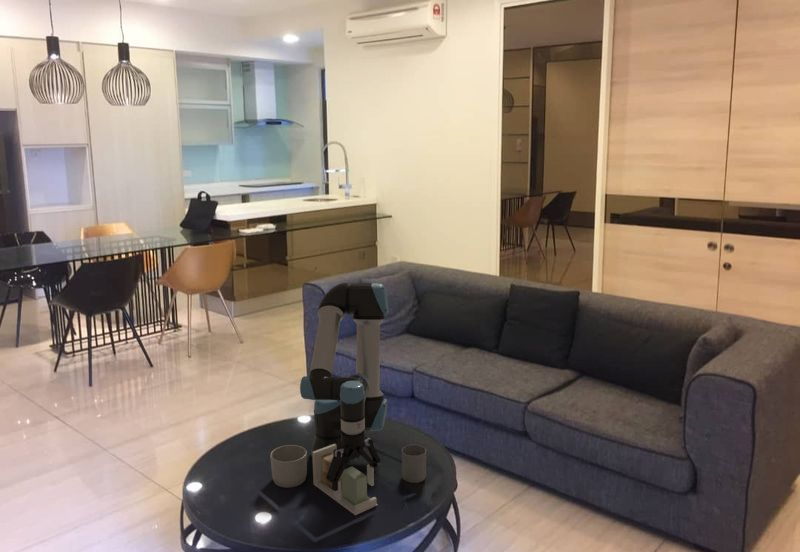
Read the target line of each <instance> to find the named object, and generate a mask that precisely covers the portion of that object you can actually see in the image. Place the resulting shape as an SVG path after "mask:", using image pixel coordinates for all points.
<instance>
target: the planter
mask: <svg viewBox="0 0 800 552" xmlns="http://www.w3.org/2000/svg"><path fill="white" fill-rule="evenodd" d="M269 456H270V459H269V460H270V468H271V469H270V470H271V476H272V480H273V483H274V484H275V485H276V486H278V487H279V488H288V489H289V488H296V487H298V486H300V485H302V484H303V483H304V482H305V480H306V478H307V473H308V451H307V449H306V448H305V447H304V446H301V445H297V444H286V445H281V446H279V447H278V446H277V447H276V448H274V449H273V450H272V451H271V452H270V454H269Z"/></svg>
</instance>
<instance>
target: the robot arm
mask: <svg viewBox="0 0 800 552" xmlns="http://www.w3.org/2000/svg"><path fill="white" fill-rule="evenodd" d="M388 299H389V298H388V293H387V289H386V286H385V285H384V284H383V283H377V282H342V283H339V284H336V285H334V286H333V287H332V288H330V289H329V290H328V291H327V292H326V293H325V295H324V296H323V297H322V299H321V300H320V302H319V305H318V308H317V317H318V318H319V319H318V325H317V330H316V336H315V342H314V347H313V352H312V358H311V364H310V369H309V375H307V376H306V375H305V376H303V377H302V378H301V380H300V385H299V391H300V392H299V393H300V397H301V399H304V400H311V401H312V400H313V401H314V405H313V408H314V409H313V414H314V415H313V417H314V438H313V442H312V446H311V449H310V458H311V459H312V460H313V456H312V452H313V451H316V450H319V449H322V448H324V447H327V446H330V445H332V444H336V445H337V449H334V452H333V459H332V462H331V465H330V468H329V471H328V474H327V477H326V479H327V480H328V481H330V482H331V483H332V489H333V490H334V497H335V498H336V499H337V500H339V501H340V500H341V481H339V479H340V477H341V475H342V473H343V471H344V469H346V467H347V465H348V464H350V462H351V460H355V459H356V458H359V457H360V456H361V457H362V458H363V459H364V460H365V461H366V463H368V464H367V465H366V476H367V485H369V486H371V487H373V486H375V475H376V468H377V467H378V466H379V465H378V464H380V463H381V459H380V456H379V455H378V452H377V450H376V448H375V445H374V442H373V439H372V438H370V437H368V436H366V432H379V431H382V430H383V429H384V425H385V422H386V415H387V409H388V399H387V398H384V392H382V391H381V389H380V370H381V369H380V365H381V360H380V359H381V357H380V356H381V354H380V353H381V352H380V351H381V343H380V342H381V325H382V323H383V322H384V321H385V316H387V315H389V300H388ZM345 315H352V320H353V322H355V324H356V363H355V364H356V365H355V366H356V368H355V371H356V372H355V373H353V374H351V375H350V376H349V377H347V376H333V374H334V372H333V370H334V365H335V358H336V354H337V346H338V339H339V333H340V326H341V322H342V321H343V320H344V318H345ZM365 447H366V448H367V451H368V453H369V454H370V456H371V457H370V456H369V455H368V454H367V452H366V451H365V450H364V449H365Z"/></svg>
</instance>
